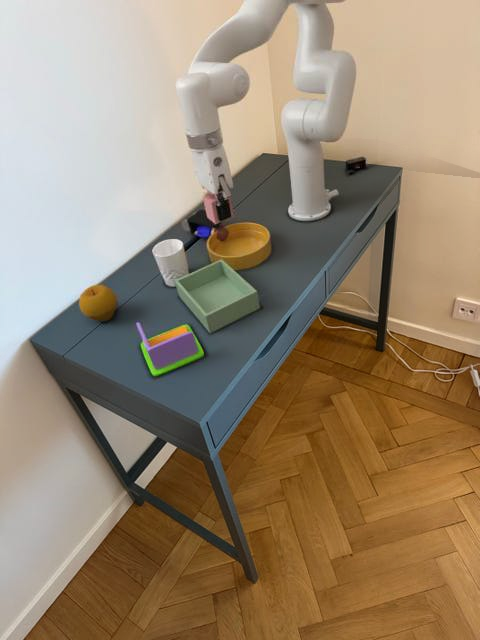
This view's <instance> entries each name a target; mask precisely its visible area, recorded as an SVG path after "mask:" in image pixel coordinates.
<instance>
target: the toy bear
mask: <svg viewBox="0 0 480 640" xmlns="http://www.w3.org/2000/svg"><path fill="white" fill-rule="evenodd" d="M220 190H221V188H219V189H218V191H220ZM222 196H223V193H222V194H219V199H220V197H222ZM231 198H232V197H231ZM231 198H230V199H229V201H230V202H229V205H230V210H231V217H230V218H228V219H226V220H223V222H225V221H227V220H230V219H231V218H234V217H235V215H234V210H233V205H232V199H231ZM202 201H203V204H204V210H206V214H207V218H209V219H210V220H211V221H212V222H214V223H215V224H218V223H220V222H222V221H219V219H218V214H217V209H216V205H217V202H216V199H215V196H214V194H213V193H211V192H210V191H208V189H207V188H205V190H204V189H203V196H202ZM223 222H222V223H223Z"/></svg>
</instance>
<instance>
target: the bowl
mask: <svg viewBox="0 0 480 640" xmlns="http://www.w3.org/2000/svg"><path fill="white" fill-rule="evenodd" d="M224 226H225V228H226V229H227V230H228V237H227V239H226V240H225V241H220V240H219V239H217V233H218V231H215V232H214V233H213V234H212V235H211V236H210V237H208V239H207V240H206V250H207V253H208V257H209V260H210V264H212V263H214V262H217V261H219V260H221V259H222V260H223V261H224V262H225V263H226V264H228V265H229V266H230V267H231V268H232V269H233V270H234V271H240V270H241V271H242V270H247V269H250V268H253V267H256V266H258V265H260V264H262V263H263V262H264V261H265V260H267V259H268V258H269V257H270V255H271V253H272V247H273V246H272V240H271V239H272V238H271V232H270V231H269V229H268V228H267V227H266V226H265V225H263V224H259V223H257V222H256V223H255V222H236V223H232V224H228V225H224Z"/></svg>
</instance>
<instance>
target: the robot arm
mask: <svg viewBox="0 0 480 640" xmlns="http://www.w3.org/2000/svg"><path fill="white" fill-rule="evenodd" d="M345 1H346V0H243V2H242V4H241V6H240V8H239V9H238V10H237V12H236V13H235V14H234V15H232V16H231V17H230V18H228V19H227V20H226V21H225V22H224V23H222V24H221V26H219V27H218V28H216V29H215V31H213V32H212V33H211V34H210V35H209V36H207V38H206V39H205V40H204V42H202V44H201V46H200V47H199V49H198V51H197V52H196V54H195V56H194V57H193V59H192V62H191V64H190V66H189V68H188V70H187V74H184V75H182V76H180V77H178V78H177V80H176V82H175V92H176V96H177V101H178V105H179V110H180V114H181V119H182V123H183V127H184V132H185V137H186V142H187V146H188V149H189V150H190V152H191V155H192V160H193V161H192V162H193V167H194V171H195V176H196V180H197V182H198V183H199V185H200V186H201V187H202V189H203V191H204V190H205V188H207V189H208V191H210V192H211V193H213V194H214V196H215V199H216V202H217V205H216V209H217V214H218V219H219V221H223V220H225V221H227V220H229V219H228V218H230V217H231V210H230V205H229V202H230V201H229V199H230V198H232V193H231V191H230V190H232V189H233V188H234V182H233V176H232V173H231V168H230V164H229V160H228V159H229V158H228V156H227V153H226V150H225V147H224V145H223V144H224V139H223V132H222V128H221V127H222V126H221V122H220V117H219V111H218V110H219V108H222V107H227V106H230V105H235V104H237V103H240V102H241V101H242V100H243V99H244V98H245V97H246V96H247V95H248V92H249V90H250V86H251V80H250V76H249V73H248V71H247V69H245V67H243V66H241V65H239V64H238V63H233V62H232V61H233V60H234V59H236V58H237V57H239V56H242V55H244V54H246V53H248V52H250V51H253V50H256V49H258V48H259V47H261V46H263V45H265V44H267V43H268V42H269V41H270V40H271V39H272V37H273V36H274V33H275V31H276V30H277V28H278V26H279V24H280V23H281V21H282V18H283V17H284V16H285V14H286V12H287V10H288V8H289V7H290V6H291V5H292V6H293V9H294V11H295V14H296V17H297V21H298V36H297V37H298V39H297V45H296V51H295V60H294V65H293V66H294V67H293V75H292V76H293V77H292V79H293V80H292V81H293V86H294V87H295V89H296V90H297V91H299V92H302V93H305V94H306V93H307V94H318V95H325V100H324V99H323V100H322V99H318V98H317V99H316V98H315V99H314V98H306V97H305V98H302V97H301V98H300V97H299V98H294V99H292V100H290V101H288V102H287V103H286V104H285V105H284V106H283V108H282V110H281V114H280V124H281V129H282V132H283V135H284V139H285V143H286V148H287V155H288V156H287V157H288V168H289V177H290V187H291V199H292V200H291V201H292V203H291V204H290V205H288V208H287V213H288V215H289V217H290V218H292V219H294V220H295V221H301V222H312V221H317V220H320V219H323V218H325V217H326V216H327V215H329V214H330V213H331V211H332V205H331V203H330V201H331V199H333V198H335V197H337V196H339V191H338V189H333V190H331V191H330V189H328V188H327V189H326V188H325V187H326V186H325V185H326V184H325V183H326V182H325V167H324V166H325V163H324V162H325V161H324V149H323V145H322V143H321V142H324V143H335V142H337V141H339V140H341V139H342V137H343V135H344V134H345V132H346V129H347V125H348V121H349V116H350V112H351V105H352V101H353V96H354V91H355V86H356V79H357V64H356V61H355V58H354V56H353V55H352V54H351V53H349V52H348V51H345V50H333V42H334V35H335V23H334V19H333V17H332V16H333V15H332V13H331V12H330V10H329V8H328V6H327V4H340V3H343V2H345ZM219 188H221V190H220V191H218V189H219ZM222 193H223V196H222V197H220V199H219V194H222ZM226 219H227V220H226ZM230 219H231V218H230ZM223 222H224V221H223Z"/></svg>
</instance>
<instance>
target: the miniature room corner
mask: <svg viewBox="0 0 480 640" xmlns="http://www.w3.org/2000/svg"><path fill="white" fill-rule="evenodd" d="M135 325H136V327H137V330H138V332H139V334H140V337H141V339H142V341H141V342H140V348H141V351H142V354H143V356H144V359H145V361H146V364H147V366H148V368H149V371H150V373H151V375H152V376H153V377H159V376H161V375H164V374H166V373H169V372H171V371H174V370H177V369H178V368H181V367H183V366H186V365H188V364H190V363H192V362H195V361H197V360H199V359H201V358H203V357H204V356H205V352H204V350H203V347H202V345H201V343H200V342H199V340H198V338H197V336H196V335H195V333H194V331H193V330H192V328H191V326H190V325H189V324H182V325H180V326H177V327H174V328H172V329H170V330H167V331H165V332H162V333H160V334H157V335H154V336H152V337H150V338H147V337H146V335H145V332H144V329H143V327H142V325H141V323H140V322H138V321H137V322H136V324H135Z"/></svg>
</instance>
